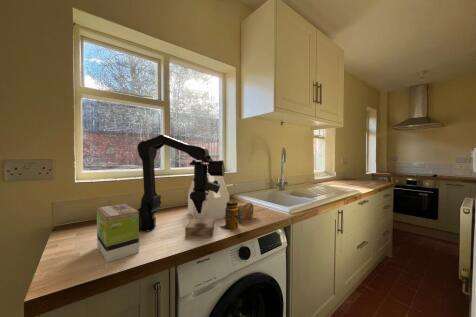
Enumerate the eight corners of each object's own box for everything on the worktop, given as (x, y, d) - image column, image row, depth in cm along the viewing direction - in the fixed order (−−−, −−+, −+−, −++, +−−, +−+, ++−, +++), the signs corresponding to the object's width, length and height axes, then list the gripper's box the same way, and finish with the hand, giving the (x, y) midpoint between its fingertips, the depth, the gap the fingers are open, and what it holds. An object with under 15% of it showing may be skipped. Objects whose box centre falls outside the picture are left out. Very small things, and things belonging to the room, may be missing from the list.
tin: (239, 224, 101) (240, 207, 101) (234, 223, 102) (234, 206, 102) (253, 216, 113) (254, 201, 113) (248, 215, 115) (249, 200, 115)
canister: (192, 218, 86) (192, 200, 86) (194, 213, 92) (194, 197, 92) (206, 217, 87) (206, 200, 87) (207, 213, 93) (208, 197, 93)
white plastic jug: (188, 213, 119) (188, 170, 119) (210, 209, 129) (210, 169, 129) (205, 221, 104) (205, 172, 104) (229, 216, 114) (229, 171, 114)
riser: (185, 237, 84) (185, 227, 84) (190, 227, 95) (190, 219, 95) (212, 236, 85) (212, 227, 84) (213, 227, 96) (213, 219, 95)
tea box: (96, 247, 74) (95, 206, 74) (126, 239, 81) (126, 202, 81) (106, 263, 63) (106, 215, 63) (140, 252, 70) (140, 210, 70)
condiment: (241, 228, 95) (242, 202, 95) (226, 232, 90) (226, 205, 90) (233, 224, 101) (233, 199, 101) (218, 227, 96) (218, 201, 96)
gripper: (218, 178, 81) (218, 217, 81) (219, 173, 99) (219, 206, 99) (189, 177, 80) (189, 217, 80) (196, 173, 99) (196, 206, 99)
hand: (200, 211), depth 90 cm, fingers closed on canister, 6 cm apart
